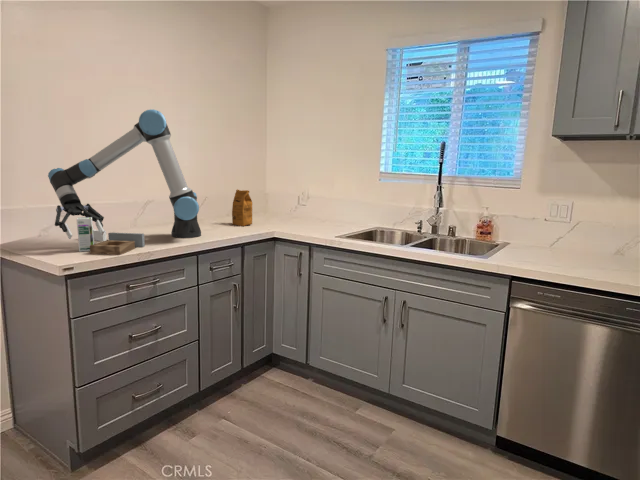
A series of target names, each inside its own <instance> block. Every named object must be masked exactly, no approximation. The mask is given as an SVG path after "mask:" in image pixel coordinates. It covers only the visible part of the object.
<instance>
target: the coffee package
mask: <svg viewBox="0 0 640 480" xmlns="http://www.w3.org/2000/svg"><path fill="white" fill-rule="evenodd" d="M233 197H234V198H233V200H232V201H233V202H232V209H231V217H232V219H231V222H232V223H231V225H232V226H237V227H245V226H250V225H253V200H252V198H251V196H250V190H249V189H248V190H244V189H242V190H240V189H238V188H237V189H236V190H235V193H234V196H233Z"/></svg>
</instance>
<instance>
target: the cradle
mask: <svg viewBox="0 0 640 480" xmlns="http://www.w3.org/2000/svg"><path fill="white" fill-rule="evenodd" d="M135 249H136V247H135V241H113V240H109V239H107V240H106V241H99V242H96V243H94V245H90V251H89V253H90V255H115V256H116V255H117V256H120V255H123V254H126V253H128V252H130V251H133V250H135Z"/></svg>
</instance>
